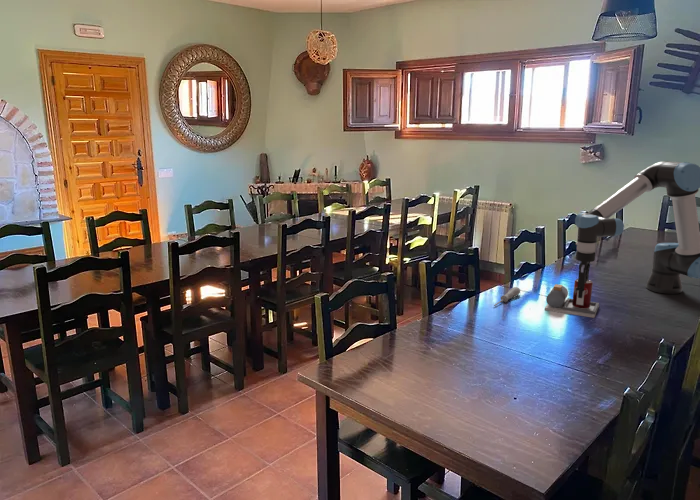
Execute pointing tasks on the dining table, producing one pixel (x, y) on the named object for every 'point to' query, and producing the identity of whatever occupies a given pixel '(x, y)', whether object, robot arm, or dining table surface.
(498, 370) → the dining table surface
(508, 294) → the screwdriver
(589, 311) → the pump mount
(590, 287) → the soda can
